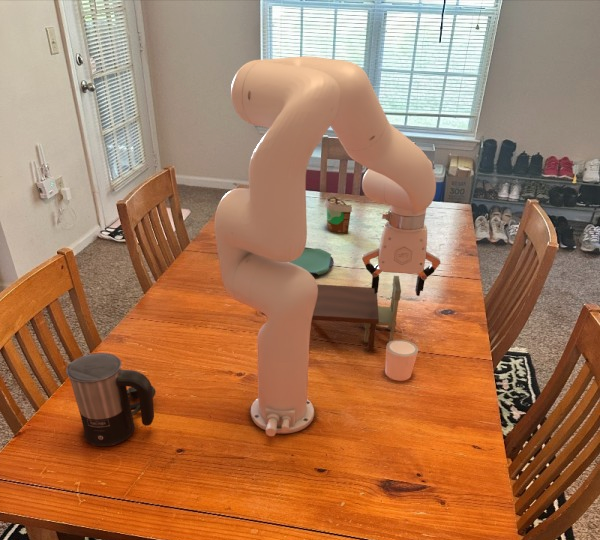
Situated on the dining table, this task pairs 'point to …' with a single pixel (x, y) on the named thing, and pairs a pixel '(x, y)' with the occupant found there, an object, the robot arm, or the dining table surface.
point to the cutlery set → (314, 261)
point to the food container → (337, 215)
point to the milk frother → (109, 397)
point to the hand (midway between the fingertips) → (396, 292)
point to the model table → (348, 306)
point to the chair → (388, 311)
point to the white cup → (400, 359)
